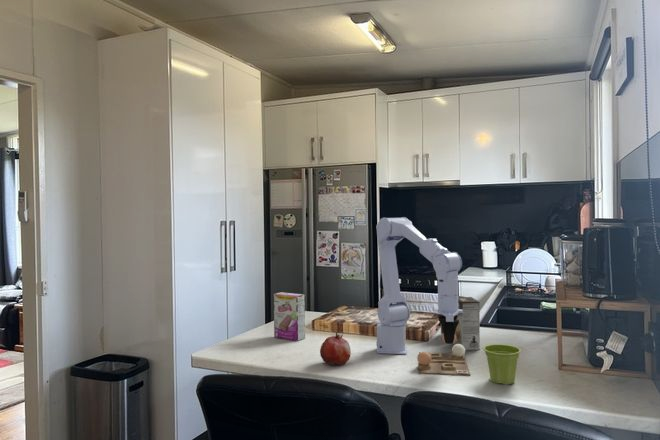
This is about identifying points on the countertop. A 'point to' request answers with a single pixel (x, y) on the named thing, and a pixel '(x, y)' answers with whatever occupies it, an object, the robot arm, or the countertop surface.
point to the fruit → (335, 350)
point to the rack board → (445, 365)
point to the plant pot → (502, 362)
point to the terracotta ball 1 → (424, 358)
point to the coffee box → (468, 323)
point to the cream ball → (458, 350)
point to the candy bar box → (289, 316)
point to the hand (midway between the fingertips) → (448, 341)
